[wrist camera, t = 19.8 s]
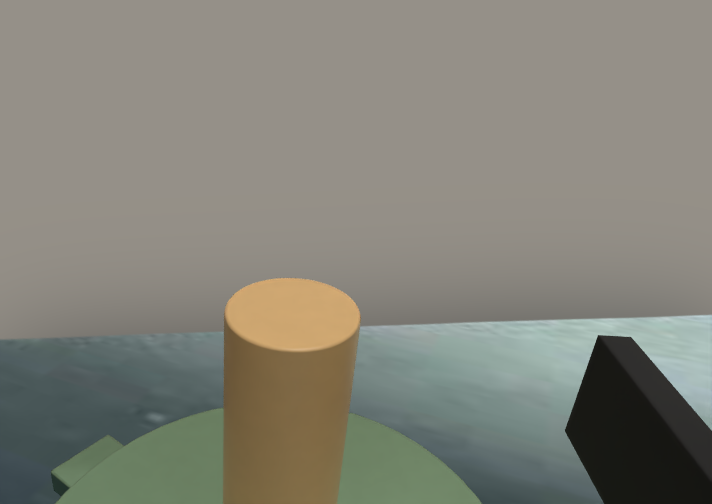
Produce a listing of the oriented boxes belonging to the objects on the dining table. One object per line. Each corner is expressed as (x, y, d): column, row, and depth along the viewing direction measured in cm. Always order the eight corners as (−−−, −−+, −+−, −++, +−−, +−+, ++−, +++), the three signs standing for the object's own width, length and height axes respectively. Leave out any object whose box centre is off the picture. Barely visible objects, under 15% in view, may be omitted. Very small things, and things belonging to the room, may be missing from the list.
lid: (255, 377, 26) (263, 162, 22) (582, 558, 20) (690, 301, 15) (-137, 656, 15) (-290, 321, 10) (333, 1331, 8) (479, 1207, 4)
